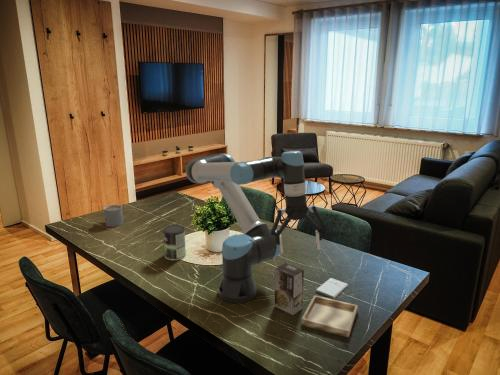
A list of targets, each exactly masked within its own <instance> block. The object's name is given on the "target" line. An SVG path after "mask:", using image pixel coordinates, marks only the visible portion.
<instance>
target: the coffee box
mask: <svg viewBox="0 0 500 375" xmlns="http://www.w3.org/2000/svg"><path fill="white" fill-rule="evenodd" d="M304 273H305V270H304V269H302V268H299V267H297V266H295V265H294V266H293V265H292V264H288V263H286V262H284V263H282V264H281V265H279V266H277V267H276V268H274V307H276V308H277V309H280V310H281V311H282V312H285V313H287V314H289V315H292V316H294V315H296V314H297V313H298V312H300V311H301V310H303V300H304V298H303V297H304V277H305V276H304V275H305V274H304Z"/></svg>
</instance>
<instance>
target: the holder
mask: <svg viewBox="0 0 500 375" xmlns="http://www.w3.org/2000/svg"><path fill="white" fill-rule="evenodd" d="M358 310H359V305H357V304H355V303H354V304H353V303H349V302H345V301H341V300H337V299H333V298H330V297H323V296H319V295H313V297H312V299H311V300H310V303H309V304H308V306H307V308H306V309H305V312H304V314H303V315H302V317H301V322H300V323H301V326H304V327H307V328H311V329H315V330H318V331H323V332H326V333H330V334H333V335H336V336H337V335H338V336H340V337H344V338H348V339H349V338H350V335H351V331H352V330H353V326H354V323H355V320H356V317H357V314H358V312H359V311H358Z"/></svg>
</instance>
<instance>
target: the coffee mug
mask: <svg viewBox="0 0 500 375" xmlns="http://www.w3.org/2000/svg"><path fill="white" fill-rule="evenodd" d="M103 215H104V223H105V226H106V227H109V228H114V227H119V226H122V225H123V224H124V214H123V206H122V205H120V204H110V205H107V206H104V208H103Z"/></svg>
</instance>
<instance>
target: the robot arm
mask: <svg viewBox="0 0 500 375" xmlns="http://www.w3.org/2000/svg"><path fill="white" fill-rule="evenodd" d="M185 175H186V177H187V179H188V180H189V181H190V182H192V183H194V184H206V183H210V184H212V186H213V187H214V188H215V189H218V190H219V191H220V194H221V195H222V197H223V199H224V200H225V202H226V204H227V205H228V207H229V210H230V211H231V213H232V215H233V216H234V217H235V219H236V222H237V223H238V225H239V227H240V228H241V230H242V232H243V233H239V234H237V233H236V234H232V235H230V236H228V237H226V238H225V239H224V241H223V242H222V249H221V255H222V256H221V258H222V259H221V261H222V277H221V279H220V282H219V286H218V296H219V297H220V298H221V299H222V300H223V301H226V302H229V303H233V304H241V303H245V302H249V301H251V300H253V299H254V298H255V297H256V296H257V286H256V284H255V282H256V281H255V280H254V276H253V267H254V266H256V265H258V264H261V263H263V262H266V261H270V260H272V259H274V258H276V257H278V256H279V255H283V254H284V249H283V237H282V235H281V234H282V233H283V231H284V230H285V229H286V227H287V226H288V224H289V223H290V222H291V221H299V220H300V221H302V220H303V219H305V220H306V221H307V222H308V223H309V224H310V225H311V226H312V227H313V228H314V229H315V244H316V249H317V251H320V250H321V244H320V241H322V240H323V232H324V231H326V230H327V229H328V228H327V226H326V224H325V223H324V221H323V220H322V218H321V216H320V215H319V213H318V211H317V207H316V205H315V204H312V205H309V206H308V203H307V202H308V201H307V194H306V180H305V162H304V157H303V152H302V151H299V150H291V151H285V152H284V151H283V152H282V153H281V156H265V157H262V158H261V159H256V160H250V161H235V159H234V158H233V157H232V155H230V154H227V153H216V154H213V155H212V154H211V155H204V156H198V157H195V158H192V159H191V160H190V161H189V162H188V163H187V165H186V167H185ZM272 178H282V179H283V188H284V195H285V196H284V200H285V208H283V209H281V208H280V207H279V208H277V213H276V214H277V215H276V217H275V220H274V222H273V225H272V227H271V228H270V227H269V225H268V224H267V222H262V221H261V219H260V218H259V215H258V214H257V213H256V211H255V210H254V208H253V206H252V205H251V203H250V201H249V199H248V197H246V195H245V194H246V193H244V191H243V190H242V187H241V185H247V184H249V183H254V182H259V181H264V180H268V179H272ZM309 211H310V213H313V215H314V217H315V218H316V220H317V221H318V223H319V225H320V226H319V225H318V224H317V223H316V222H314V220H313V219H312V218H311V217H310V216H308V215H307V214H308V212H309ZM284 214H286V215H287V216H286V217H285V218H284V221H283V222H282V223H281V224H280V226H279V223H280V221H281V219H282V216H284ZM278 226H279V227H278ZM277 228H278V229H277Z"/></svg>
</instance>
